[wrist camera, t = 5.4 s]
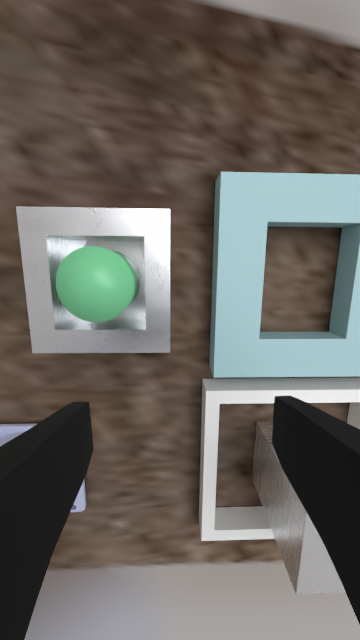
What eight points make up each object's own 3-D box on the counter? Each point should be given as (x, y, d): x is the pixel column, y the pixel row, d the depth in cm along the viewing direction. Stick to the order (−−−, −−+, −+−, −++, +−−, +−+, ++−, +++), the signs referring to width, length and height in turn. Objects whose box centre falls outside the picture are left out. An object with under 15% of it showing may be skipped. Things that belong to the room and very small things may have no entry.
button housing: (60, 335, 19) (32, 353, 15) (50, 219, 17) (16, 206, 14) (170, 335, 19) (170, 352, 16) (170, 221, 18) (170, 208, 14)
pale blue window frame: (209, 366, 20) (213, 377, 18) (215, 182, 17) (221, 171, 15) (361, 365, 20) (382, 376, 18) (390, 185, 18) (417, 175, 16)
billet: (252, 479, 22) (296, 594, 14) (256, 421, 21) (306, 512, 13) (298, 478, 22) (366, 592, 15) (305, 420, 21) (382, 510, 14)
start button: (80, 311, 18) (58, 322, 14) (76, 249, 17) (52, 245, 13) (140, 311, 18) (133, 322, 14) (139, 250, 17) (131, 246, 13)
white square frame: (198, 517, 23) (201, 540, 21) (202, 378, 20) (206, 390, 18) (343, 513, 23) (359, 536, 21) (366, 377, 21) (386, 389, 19)
